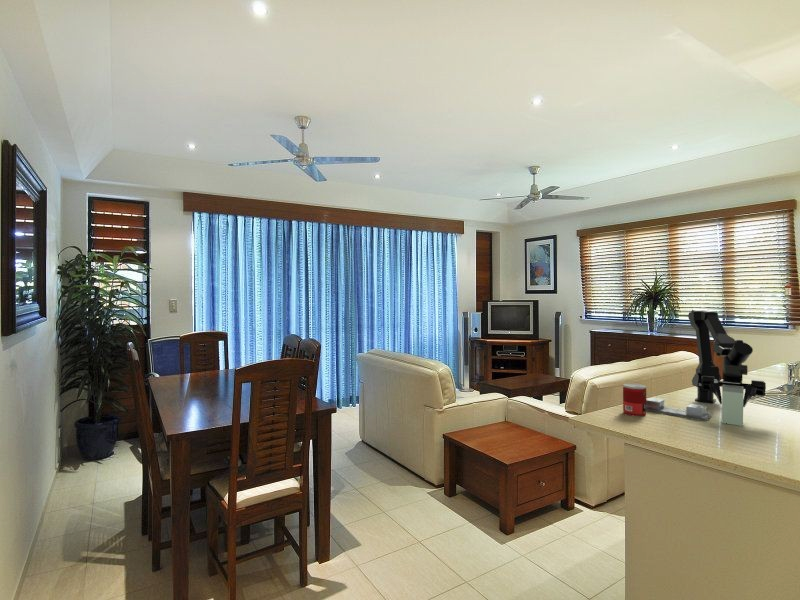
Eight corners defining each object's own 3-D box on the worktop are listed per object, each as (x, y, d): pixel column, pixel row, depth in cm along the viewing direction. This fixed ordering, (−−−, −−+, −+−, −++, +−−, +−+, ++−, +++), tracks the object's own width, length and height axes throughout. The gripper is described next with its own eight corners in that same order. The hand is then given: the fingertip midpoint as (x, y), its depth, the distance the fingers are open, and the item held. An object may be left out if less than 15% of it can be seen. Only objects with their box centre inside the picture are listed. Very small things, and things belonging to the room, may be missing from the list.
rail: (647, 406, 183) (647, 396, 183) (711, 416, 167) (711, 406, 167) (640, 409, 177) (640, 399, 177) (706, 421, 161) (706, 410, 161)
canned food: (648, 417, 167) (648, 388, 167) (624, 415, 170) (624, 386, 170) (644, 411, 175) (644, 383, 174) (621, 410, 177) (621, 382, 177)
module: (722, 419, 163) (722, 384, 163) (742, 422, 159) (743, 386, 159) (721, 422, 159) (722, 386, 159) (742, 426, 155) (743, 389, 155)
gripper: (701, 354, 167) (699, 388, 159) (765, 358, 156) (767, 395, 148) (702, 372, 174) (700, 406, 165) (764, 377, 163) (765, 414, 154)
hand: (732, 405), depth 158 cm, fingers closed on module, 6 cm apart
